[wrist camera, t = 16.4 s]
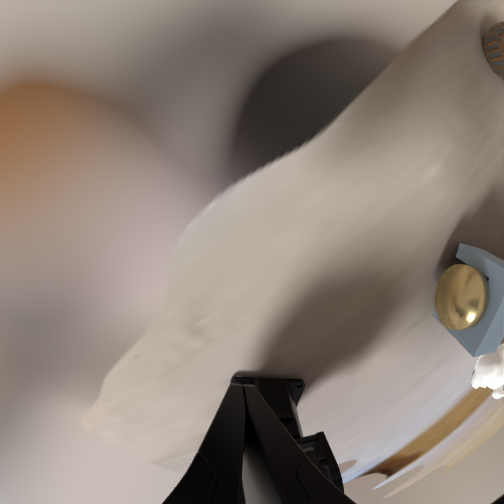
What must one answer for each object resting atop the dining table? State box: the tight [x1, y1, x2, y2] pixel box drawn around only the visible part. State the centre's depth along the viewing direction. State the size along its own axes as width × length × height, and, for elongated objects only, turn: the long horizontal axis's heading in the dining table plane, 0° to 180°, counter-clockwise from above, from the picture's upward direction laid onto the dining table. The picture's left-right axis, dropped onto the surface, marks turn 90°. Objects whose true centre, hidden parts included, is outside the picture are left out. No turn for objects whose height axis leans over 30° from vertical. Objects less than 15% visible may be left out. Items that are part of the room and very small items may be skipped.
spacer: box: [433, 243, 504, 357], centre depth 17 cm, size 4×7×6 cm, turn 171°
